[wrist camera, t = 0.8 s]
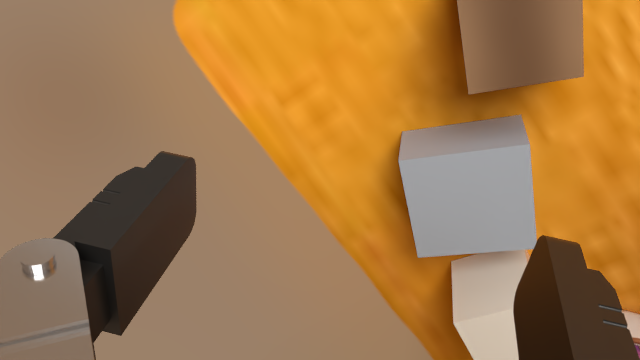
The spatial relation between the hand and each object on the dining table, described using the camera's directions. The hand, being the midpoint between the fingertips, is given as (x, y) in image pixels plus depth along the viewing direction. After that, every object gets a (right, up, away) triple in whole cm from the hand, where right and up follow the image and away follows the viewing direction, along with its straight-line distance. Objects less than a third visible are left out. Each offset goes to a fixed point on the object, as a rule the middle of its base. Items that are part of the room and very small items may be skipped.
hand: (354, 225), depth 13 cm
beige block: (+12, -6, +26) cm, 29 cm away
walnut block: (+9, +11, +16) cm, 21 cm away
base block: (+9, +2, +22) cm, 24 cm away
